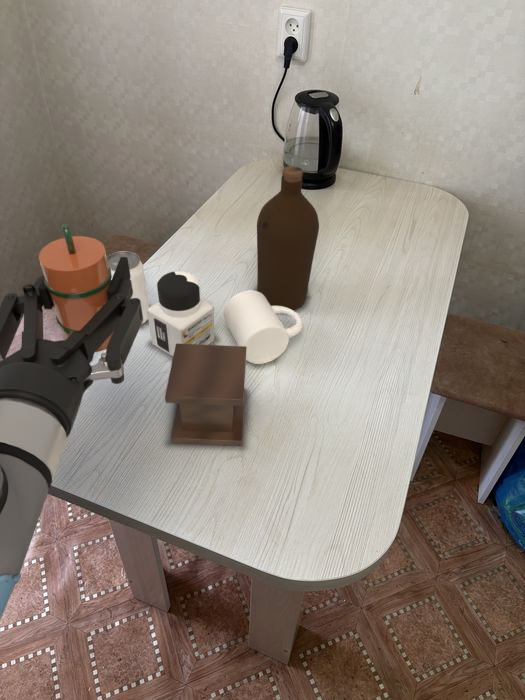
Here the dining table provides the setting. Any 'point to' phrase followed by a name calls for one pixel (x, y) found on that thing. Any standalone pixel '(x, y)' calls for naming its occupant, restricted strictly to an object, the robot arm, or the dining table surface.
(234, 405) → the stand
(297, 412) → the dining table surface
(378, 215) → the dining table surface
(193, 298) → the container
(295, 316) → the mug
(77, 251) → the banded candle
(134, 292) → the can
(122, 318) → the robot arm
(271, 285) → the olive oil
